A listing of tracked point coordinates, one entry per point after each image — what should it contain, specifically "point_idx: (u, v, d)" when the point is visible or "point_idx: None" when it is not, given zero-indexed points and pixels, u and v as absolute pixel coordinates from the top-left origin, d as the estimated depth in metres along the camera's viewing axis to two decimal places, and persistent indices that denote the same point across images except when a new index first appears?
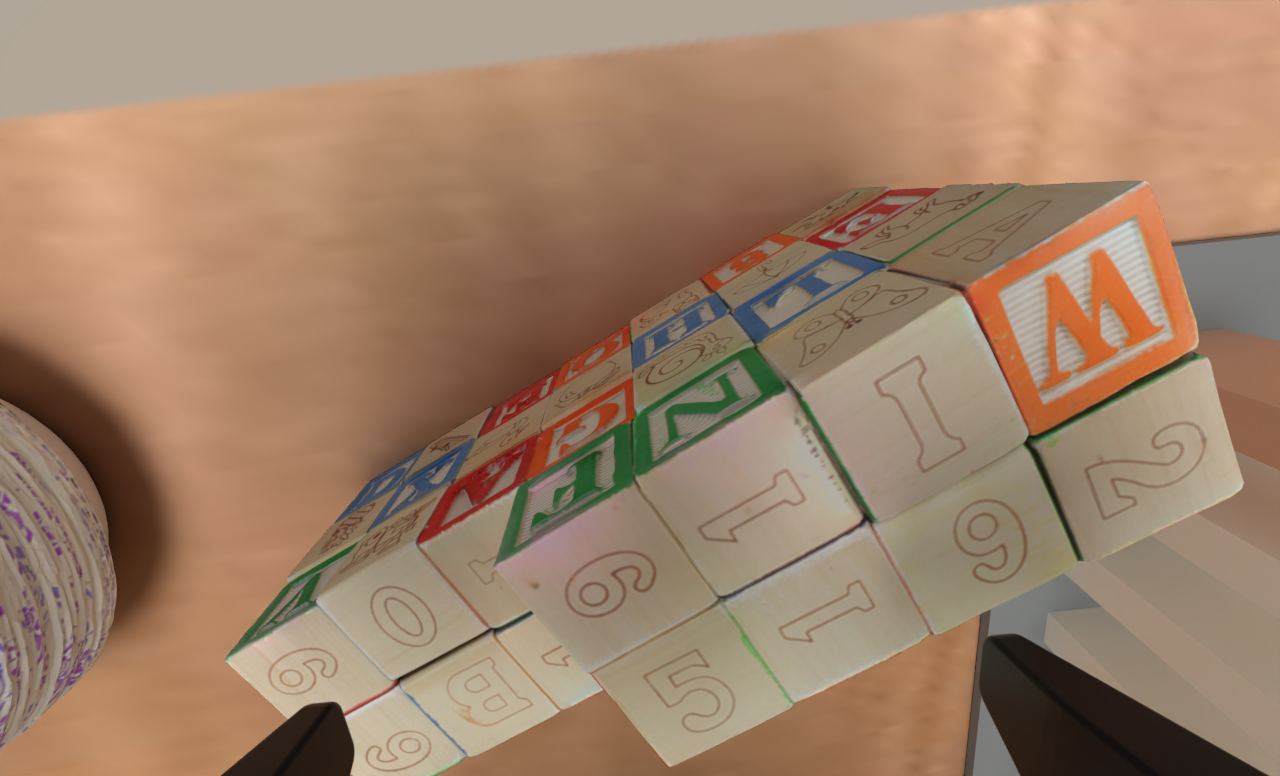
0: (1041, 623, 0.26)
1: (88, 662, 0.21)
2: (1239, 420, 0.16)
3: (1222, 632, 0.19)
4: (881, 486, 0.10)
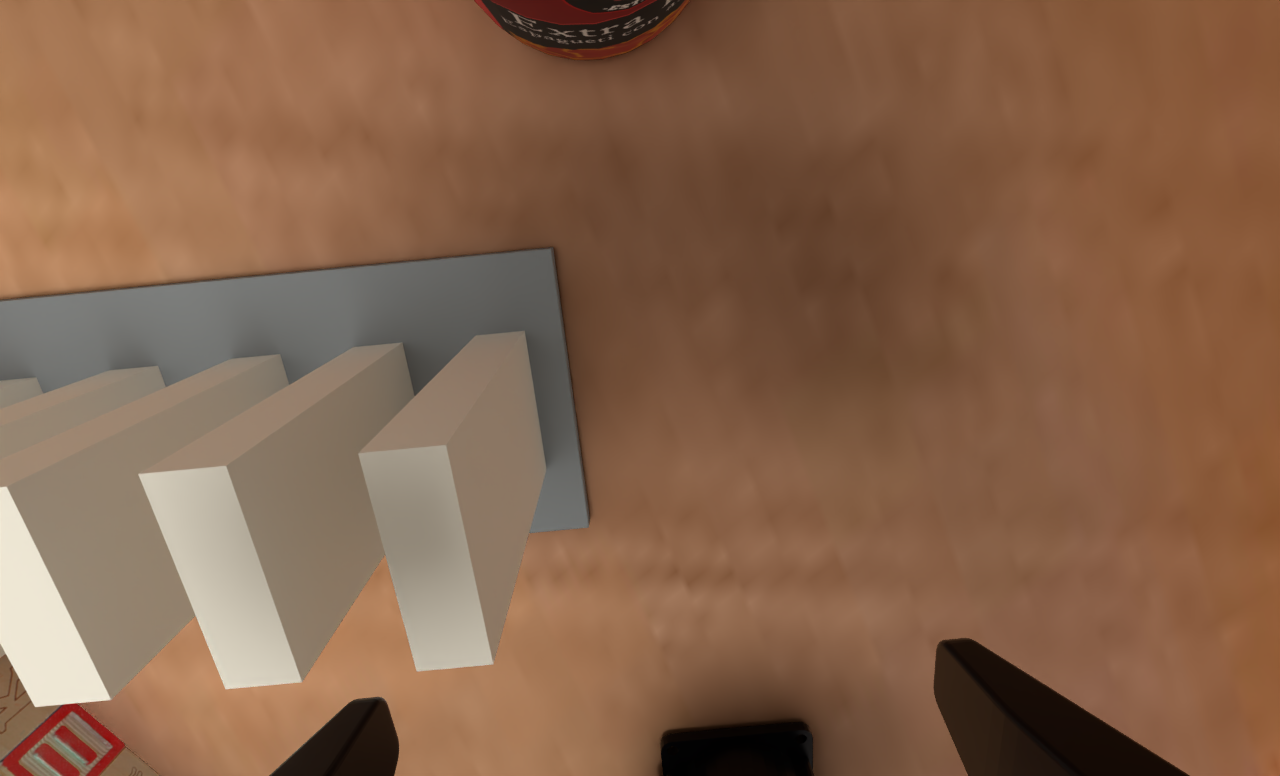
0: None
1: None
2: None
3: None
4: None
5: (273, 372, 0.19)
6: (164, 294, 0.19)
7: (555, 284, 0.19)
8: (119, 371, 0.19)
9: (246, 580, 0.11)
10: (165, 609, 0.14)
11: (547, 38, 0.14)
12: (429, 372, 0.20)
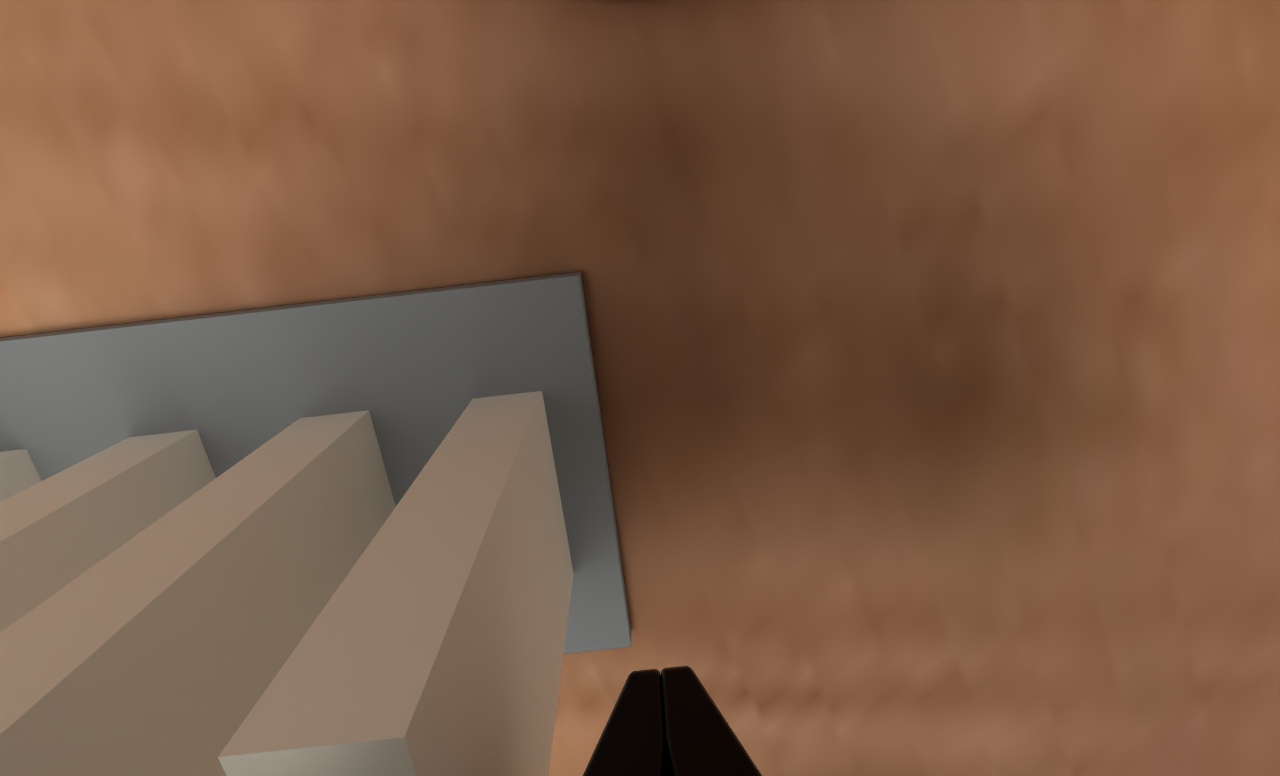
0: None
1: None
2: None
3: None
4: None
5: (186, 458, 0.13)
6: (25, 350, 0.13)
7: (585, 325, 0.13)
8: None
9: None
10: None
11: None
12: (408, 450, 0.14)
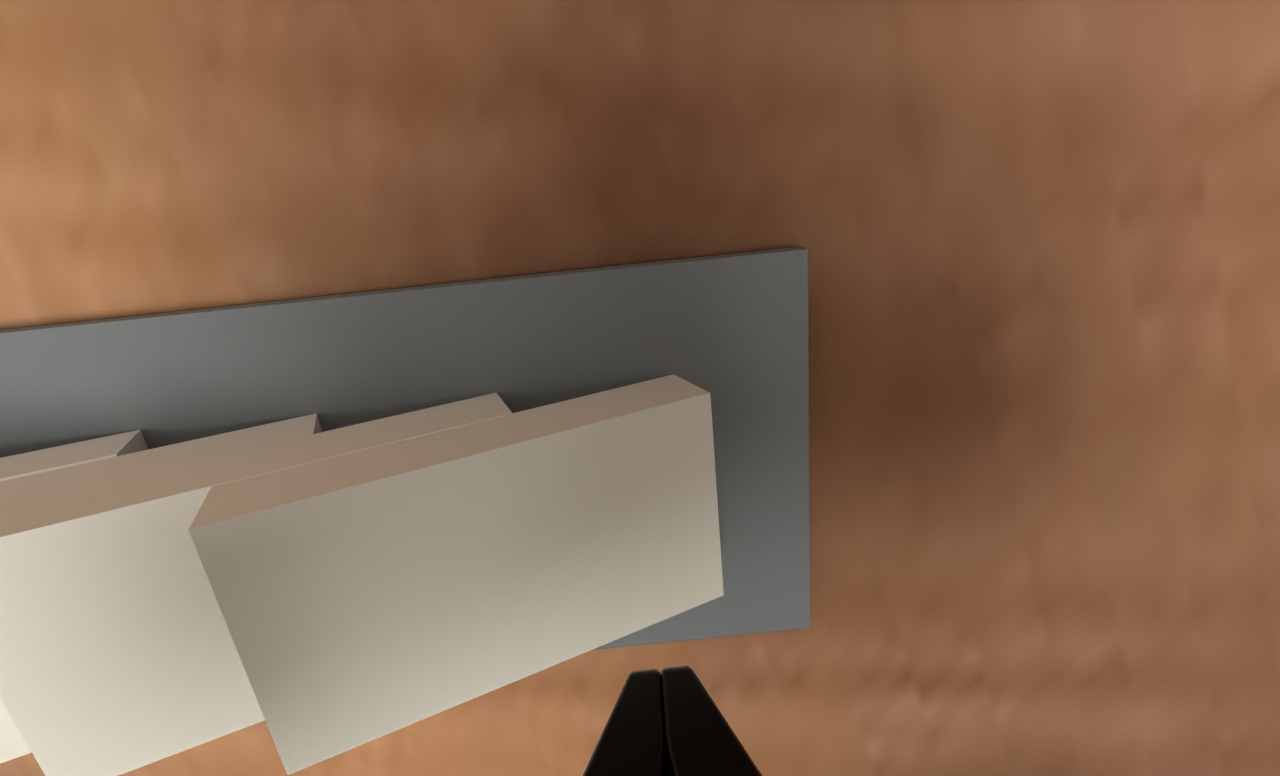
0: None
1: None
2: None
3: None
4: None
5: None
6: (246, 319, 0.13)
7: (807, 300, 0.13)
8: (112, 442, 0.13)
9: None
10: None
11: None
12: None
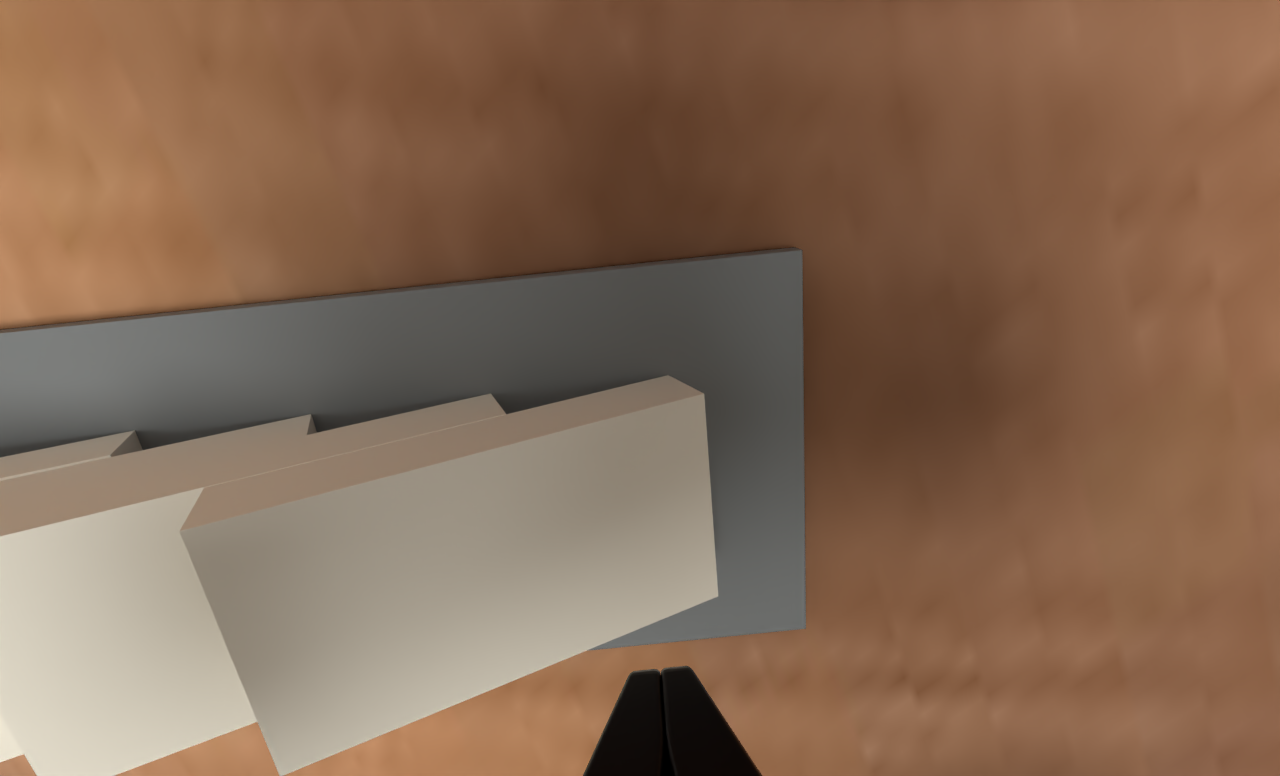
0: None
1: None
2: None
3: None
4: None
5: None
6: (240, 320, 0.13)
7: (801, 301, 0.13)
8: (106, 443, 0.13)
9: None
10: None
11: None
12: None
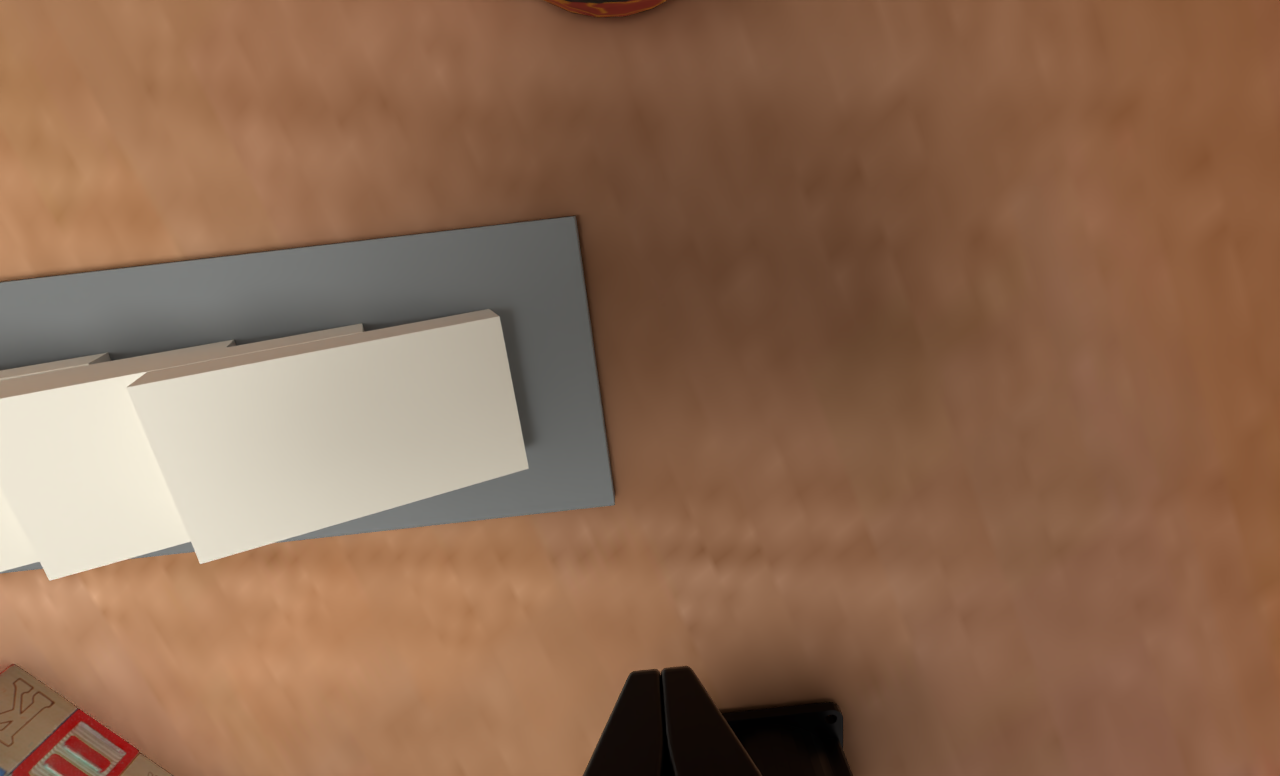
0: None
1: None
2: None
3: None
4: None
5: None
6: (180, 271, 0.18)
7: (579, 253, 0.18)
8: (86, 358, 0.18)
9: None
10: None
11: None
12: None
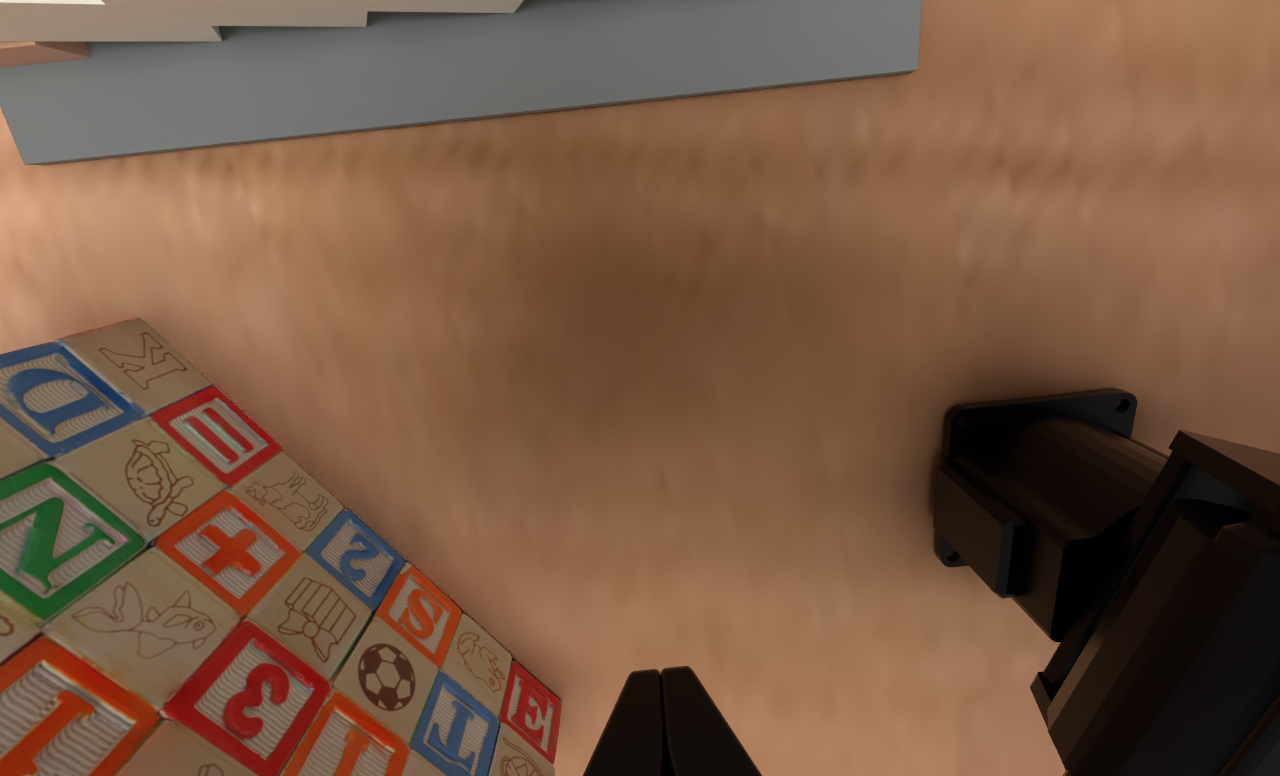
0: (552, 16, 0.16)
1: None
2: None
3: None
4: None
5: None
6: None
7: None
8: None
9: None
10: None
11: None
12: None
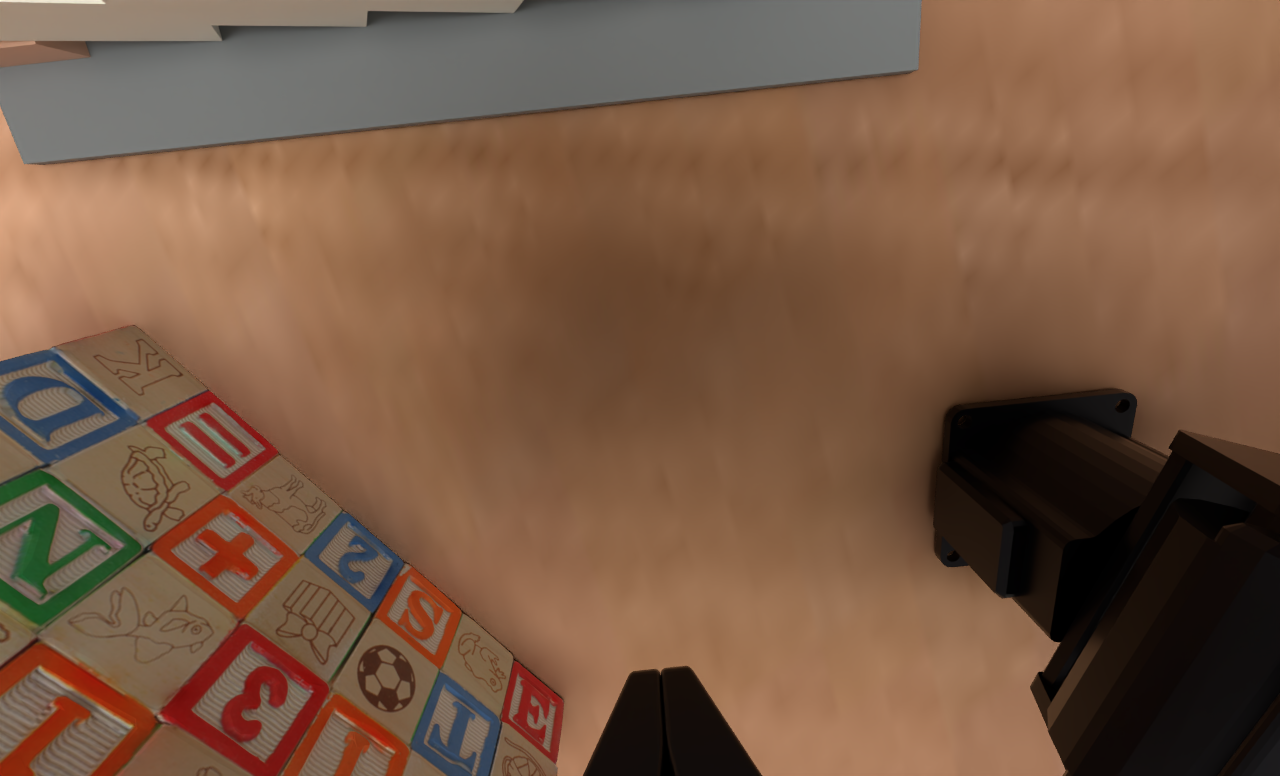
0: (552, 16, 0.16)
1: None
2: None
3: None
4: None
5: None
6: None
7: None
8: None
9: None
10: None
11: None
12: None
